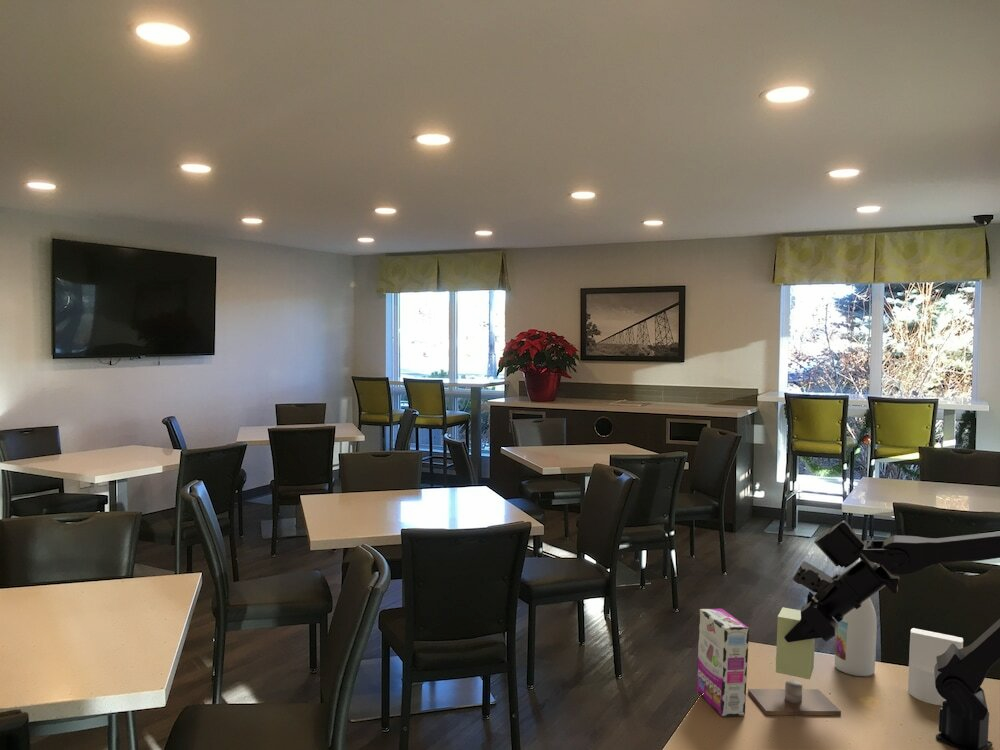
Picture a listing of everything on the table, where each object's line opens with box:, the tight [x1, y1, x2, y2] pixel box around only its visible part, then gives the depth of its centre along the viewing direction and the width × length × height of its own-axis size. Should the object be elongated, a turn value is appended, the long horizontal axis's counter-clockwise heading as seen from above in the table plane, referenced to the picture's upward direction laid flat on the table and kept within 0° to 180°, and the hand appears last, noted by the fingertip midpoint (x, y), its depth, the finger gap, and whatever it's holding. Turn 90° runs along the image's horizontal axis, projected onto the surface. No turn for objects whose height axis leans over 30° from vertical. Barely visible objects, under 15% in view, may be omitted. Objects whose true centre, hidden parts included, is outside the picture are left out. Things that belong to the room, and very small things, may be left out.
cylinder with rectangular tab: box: [907, 627, 964, 706], centre depth 152 cm, size 9×9×12 cm
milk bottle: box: [834, 597, 878, 677], centre depth 163 cm, size 8×8×20 cm
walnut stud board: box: [747, 680, 842, 716], centre depth 147 cm, size 14×9×4 cm, turn 93°
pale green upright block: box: [775, 606, 816, 680], centre depth 146 cm, size 6×6×11 cm
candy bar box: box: [696, 607, 750, 718], centre depth 146 cm, size 11×5×16 cm, turn 10°
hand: (788, 634), depth 147 cm, fingers closed on pale green upright block, 6 cm apart
